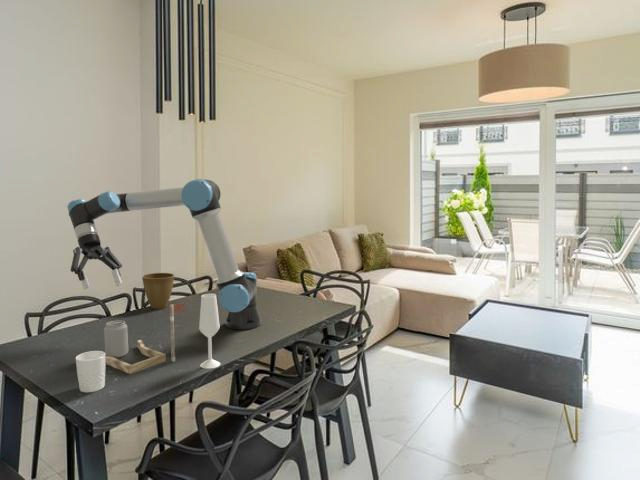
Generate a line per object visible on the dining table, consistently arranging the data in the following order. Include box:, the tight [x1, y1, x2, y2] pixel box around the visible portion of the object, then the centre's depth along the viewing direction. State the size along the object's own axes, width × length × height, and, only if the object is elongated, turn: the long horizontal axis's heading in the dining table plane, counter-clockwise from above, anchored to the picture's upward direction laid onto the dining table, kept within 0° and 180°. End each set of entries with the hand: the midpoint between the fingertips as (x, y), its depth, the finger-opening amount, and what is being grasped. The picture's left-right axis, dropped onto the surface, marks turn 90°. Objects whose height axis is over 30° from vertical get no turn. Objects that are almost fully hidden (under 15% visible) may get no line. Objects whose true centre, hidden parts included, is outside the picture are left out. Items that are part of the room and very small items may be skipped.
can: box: [103, 319, 129, 359], centre depth 159 cm, size 8×8×12 cm
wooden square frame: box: [105, 301, 185, 375], centre depth 154 cm, size 23×23×20 cm
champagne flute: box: [198, 293, 221, 369], centre depth 150 cm, size 7×7×24 cm
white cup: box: [75, 350, 106, 393], centre depth 133 cm, size 8×8×10 cm
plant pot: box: [141, 272, 175, 310], centre depth 221 cm, size 15×15×16 cm
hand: (103, 286), depth 170 cm, fingers open, 13 cm apart
